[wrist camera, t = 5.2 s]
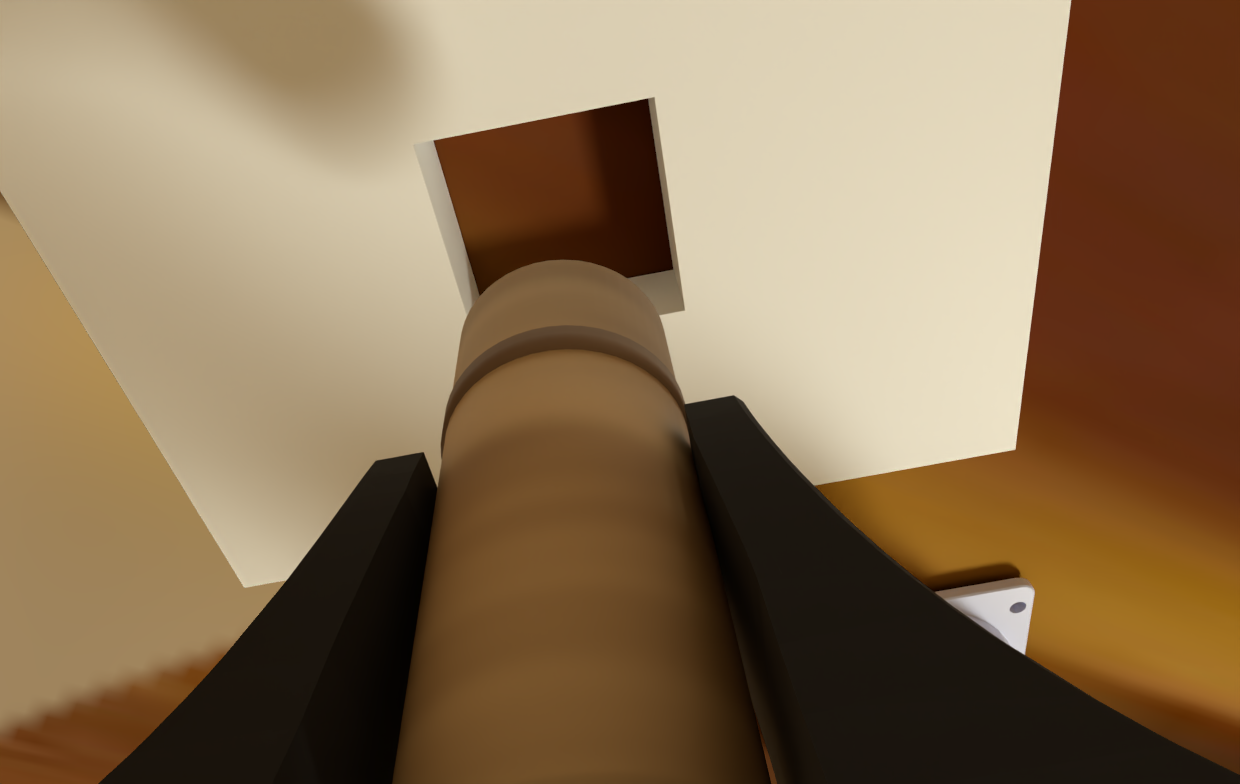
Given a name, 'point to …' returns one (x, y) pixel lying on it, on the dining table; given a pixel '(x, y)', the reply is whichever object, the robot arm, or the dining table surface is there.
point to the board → (432, 242)
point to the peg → (572, 558)
